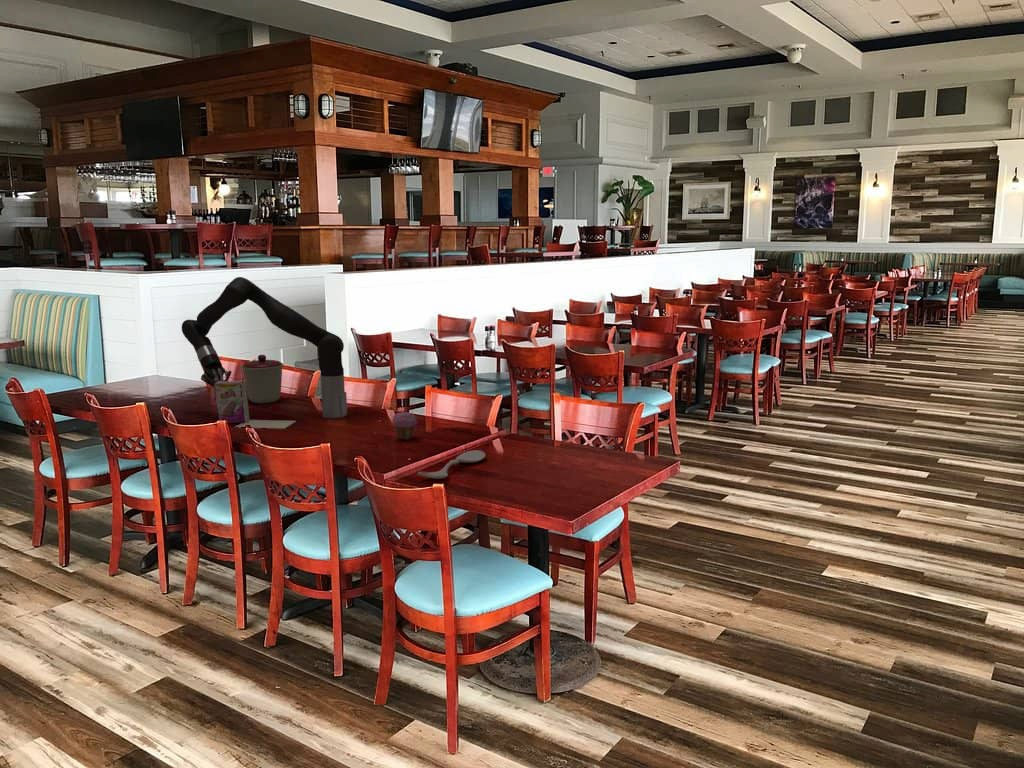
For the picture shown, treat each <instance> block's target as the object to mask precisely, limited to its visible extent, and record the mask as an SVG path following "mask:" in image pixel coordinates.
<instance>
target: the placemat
mask: <svg viewBox="0 0 1024 768" xmlns="http://www.w3.org/2000/svg"><path fill="white" fill-rule="evenodd" d="M296 423H297V421H296V420H275V419H274V420H273V419H272V420H271V419H269V420H268V419H267V420H266V419H250V420H249V421H248V422H246V423H238V425H235V426H234V428H235V429H242V428H241V427H245V426H246V425H250V426H251V427H253V428H252V429H261V428H267V430H268V429H269V430H270V429H271V430H285V429H287V428H288V427H290V426H292V425H293V424H296ZM236 427H238V428H236ZM261 430H262V429H261Z"/></svg>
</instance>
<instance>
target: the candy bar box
mask: <svg viewBox="0 0 1024 768" xmlns="http://www.w3.org/2000/svg"><path fill="white" fill-rule="evenodd" d="M213 388H214V394H215V402H216V403H215V404H216V410H217V420H227V421H228V423H227V424H241V423H246V422H248V421H249V420H251V418H250V411H249V401H248V400H249V399H248V394H247V389H246V381H245V380H228V381H219V382H216V383H214V386H213Z"/></svg>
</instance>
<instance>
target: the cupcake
mask: <svg viewBox="0 0 1024 768" xmlns="http://www.w3.org/2000/svg"><path fill="white" fill-rule="evenodd" d="M417 422H418V419H417V417H416V416H415V415H414V414H413V413H411V412H409V411H403V412H396V414H394V415H393V418H392V425H393V427H394V429H395V432H396V435H397V438H398V439H399V440H404V441H406V440H407V441H408V440H411V439H412V438H414V435H415V428H416V427H415V426H416V425H418V423H417Z"/></svg>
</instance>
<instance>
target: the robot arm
mask: <svg viewBox="0 0 1024 768" xmlns="http://www.w3.org/2000/svg"><path fill="white" fill-rule="evenodd" d="M247 301H251V302H253V303H254V304H255V305H257V306H258V307H260V309H261V310H262V311H263V313H264V314H265V316H266V317H267V320H269V322H270V323H271V324H272V326H275V327H277V328H279V329H280V330H281V331H283V332H285V333H287V334H289V335H291V336H295V337H297V338H299V339H302V340H303V339H304V340H305V341H307V342H309V343H310V344H312V345H314V346H315V347H317V357H318V369H319V372H320V386H321V387H320V390H321V391H320V392H321V405H322V406H321V407H322V410H321V411H322V417H323V418H325V419H338V418H340V419H341V418H344V417H346V416H347V415H348V402H347V401H348V400H347V399H348V398H347V396H348V395H347V392H346V391H345V374H344V373H345V370H344V369H345V368H344V367H343V359H342V353H343V351H344V348H345V345H344V341H343V339H341V337H340V336H338V335H336V334H334V333H332V332H330V331H329V330H326V329H325V328H324V329H323V328H322V327H320V326H318V325H316V324H315V323H314V322H312V321H311V320H309V319H308V318H306V317H305V316H304V315H302V314H300V313H299V312H297V311H296V310H294V309H293V308H291V307H289V306H288V305H286V304H284V303H283V302H281V301H279V300H277V298H275V297H273V296H271V295H270V294H268V293H267V292H265V291H264V290H263V289H262V288H261V287H259V286H258V285H257V284H256V283H254V282H252V281H251V280H249V279H248V278H245V277H242V276H237V277H235V278H233V280H231V281H230V282H229V283H228V284H227V285H226V286H225V288H224V289H223V290H222V293H220V295H219V296H218V297H217V299H216V300H215V301H213V302H212V303H211V304H209V305H208V306H206V307H205V308H204V309H202V310H201V311H200V312H199V313H198V315H196V319H186V320H183V322H182V323H181V332H182V334H183V336H184V337H185V339H186V340H187V341H188V342H189V343H190V345H192V347H193V349H194V351H195V353H196V356H197V359H198V362H199V364H200V366H201V368H202V371H203V373H202V374H201V376H200V380H201V381H203V382H204V383H205V384H207V385H208V386H210V387H212V388H214V383H216V382H219V381H230V380H229V379H230V377H231V374H232V370H229V371H228V370H226V369H225V367H223V364H222V362H221V359H220V357H219V355H218V352H217V351H216V349H215V347H214V346H213V344H212V341H211V339H210V338H209V337H208V334H209V332H211V331H210V330H211V329H212V327H213V325H215V324H216V323H217V322H219V321H220V319H222V318H223V316H224V315H225V314H227V313H228V312H230V311H232V310H233V309H235V308H237V307H240V306H241V305H243V304H245V303H246V302H247ZM224 375H225V379H224Z"/></svg>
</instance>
